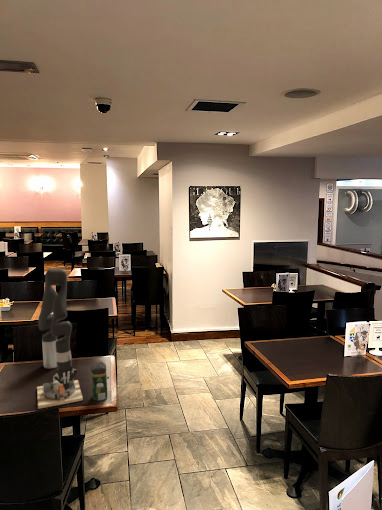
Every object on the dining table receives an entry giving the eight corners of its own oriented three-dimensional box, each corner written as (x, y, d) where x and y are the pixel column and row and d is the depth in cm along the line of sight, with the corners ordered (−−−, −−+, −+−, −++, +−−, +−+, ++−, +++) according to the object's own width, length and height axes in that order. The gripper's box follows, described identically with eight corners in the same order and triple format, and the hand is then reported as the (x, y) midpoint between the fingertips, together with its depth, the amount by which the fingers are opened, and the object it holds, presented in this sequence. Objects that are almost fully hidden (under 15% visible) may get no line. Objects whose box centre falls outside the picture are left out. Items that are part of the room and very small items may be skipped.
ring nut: (70, 382, 229) (69, 372, 228) (77, 394, 215) (77, 383, 214) (40, 389, 221) (40, 378, 220) (46, 402, 207) (46, 391, 206)
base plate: (37, 389, 224) (36, 377, 223) (78, 382, 232) (77, 370, 231) (38, 408, 204) (37, 395, 203) (82, 400, 212) (82, 387, 211)
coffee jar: (92, 393, 219) (90, 361, 216) (107, 391, 221) (105, 359, 218) (92, 402, 210) (90, 368, 207) (107, 400, 212) (106, 367, 209)
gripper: (73, 352, 218) (75, 382, 221) (48, 359, 209) (51, 390, 212) (78, 357, 212) (81, 387, 215) (54, 364, 204) (56, 396, 207)
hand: (66, 389), depth 214 cm, fingers closed
